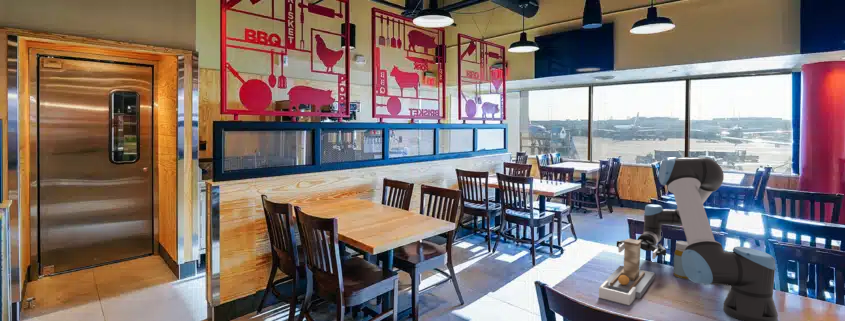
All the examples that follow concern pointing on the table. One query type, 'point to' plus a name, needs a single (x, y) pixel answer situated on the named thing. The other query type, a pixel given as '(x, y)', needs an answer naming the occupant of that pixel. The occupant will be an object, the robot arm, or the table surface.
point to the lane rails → (632, 284)
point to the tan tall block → (631, 258)
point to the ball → (623, 280)
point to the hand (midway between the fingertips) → (636, 252)
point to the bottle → (679, 259)
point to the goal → (616, 295)
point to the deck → (631, 282)
